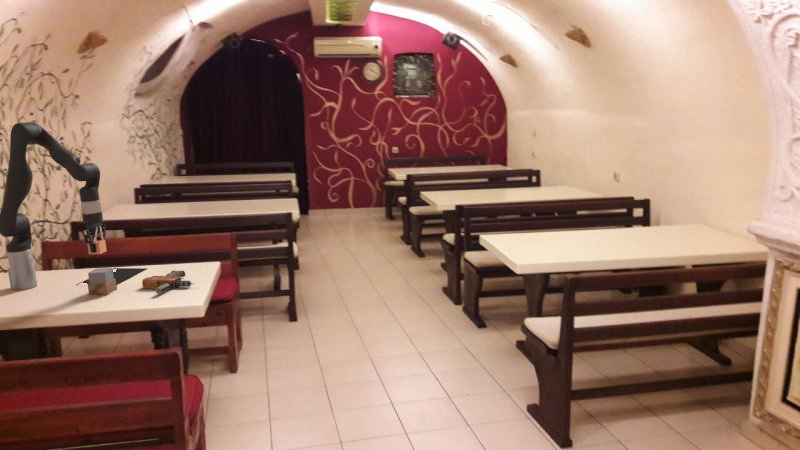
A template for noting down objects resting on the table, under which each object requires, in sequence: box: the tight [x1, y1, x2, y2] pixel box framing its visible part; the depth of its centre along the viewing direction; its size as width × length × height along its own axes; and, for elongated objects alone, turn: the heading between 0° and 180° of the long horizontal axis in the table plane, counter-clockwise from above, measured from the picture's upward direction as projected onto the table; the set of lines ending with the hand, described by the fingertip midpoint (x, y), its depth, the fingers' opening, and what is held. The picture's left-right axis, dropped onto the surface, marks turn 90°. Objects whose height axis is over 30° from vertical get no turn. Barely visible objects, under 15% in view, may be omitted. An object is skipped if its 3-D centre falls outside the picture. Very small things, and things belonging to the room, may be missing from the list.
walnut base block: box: [87, 279, 118, 297], centre depth 252 cm, size 8×8×5 cm
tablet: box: [75, 267, 148, 286], centre depth 276 cm, size 27×1×20 cm
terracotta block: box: [86, 239, 107, 255], centre depth 249 cm, size 5×5×5 cm
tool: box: [141, 270, 194, 295], centre depth 259 cm, size 4×27×30 cm
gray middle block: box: [87, 267, 114, 284], centre depth 251 cm, size 7×7×5 cm
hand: (97, 250), depth 249 cm, fingers closed on terracotta block, 5 cm apart
